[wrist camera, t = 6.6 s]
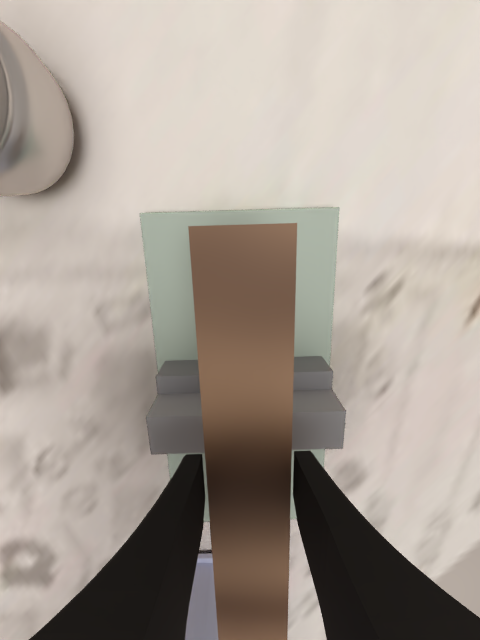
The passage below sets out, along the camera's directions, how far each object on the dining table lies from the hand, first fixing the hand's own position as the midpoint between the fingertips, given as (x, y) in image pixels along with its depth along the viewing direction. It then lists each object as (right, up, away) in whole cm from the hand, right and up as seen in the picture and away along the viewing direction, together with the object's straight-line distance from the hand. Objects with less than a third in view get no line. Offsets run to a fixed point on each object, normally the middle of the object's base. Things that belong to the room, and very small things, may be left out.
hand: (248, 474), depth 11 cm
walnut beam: (0, +1, +2) cm, 2 cm away
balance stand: (0, +2, +7) cm, 7 cm away
